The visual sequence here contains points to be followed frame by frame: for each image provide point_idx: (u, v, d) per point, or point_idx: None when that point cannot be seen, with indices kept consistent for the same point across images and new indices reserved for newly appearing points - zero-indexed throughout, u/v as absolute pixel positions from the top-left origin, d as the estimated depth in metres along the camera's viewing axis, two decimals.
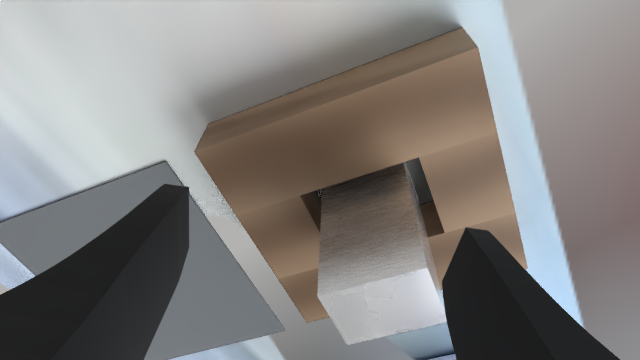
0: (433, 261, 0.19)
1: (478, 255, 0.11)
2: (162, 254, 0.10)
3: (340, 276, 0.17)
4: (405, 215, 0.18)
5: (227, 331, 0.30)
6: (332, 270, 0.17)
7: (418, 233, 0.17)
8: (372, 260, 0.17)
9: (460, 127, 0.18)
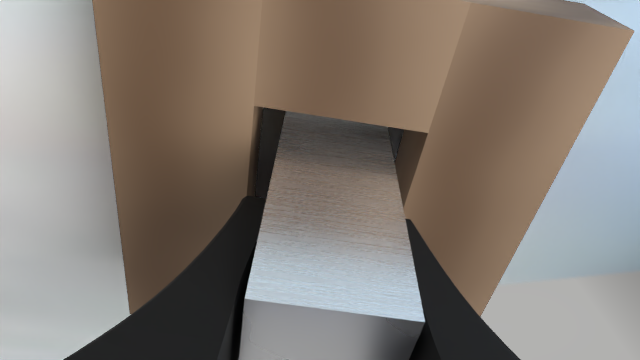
0: (396, 210, 0.10)
1: None
2: None
3: None
4: None
5: None
6: None
7: (260, 229, 0.09)
8: None
9: (227, 22, 0.10)
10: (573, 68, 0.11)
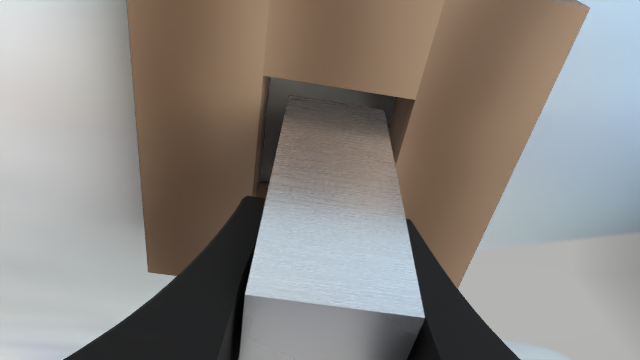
0: (396, 207, 0.10)
1: None
2: None
3: None
4: None
5: None
6: None
7: (260, 226, 0.09)
8: None
9: (241, 1, 0.12)
10: (539, 40, 0.12)
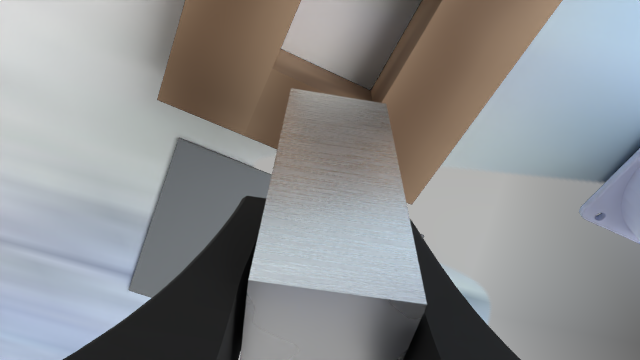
0: (398, 197, 0.10)
1: None
2: None
3: None
4: None
5: None
6: None
7: (263, 214, 0.09)
8: None
9: None
10: None
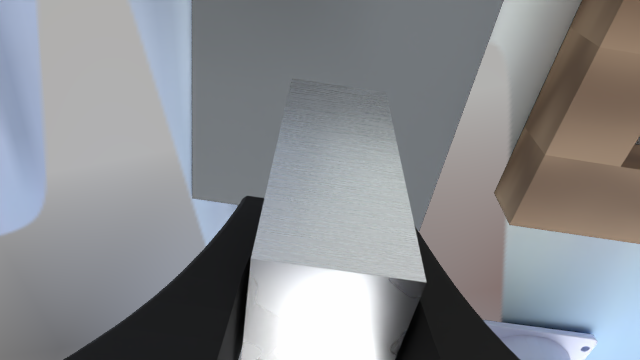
0: (398, 182, 0.10)
1: None
2: None
3: None
4: None
5: None
6: None
7: (265, 197, 0.09)
8: None
9: None
10: None
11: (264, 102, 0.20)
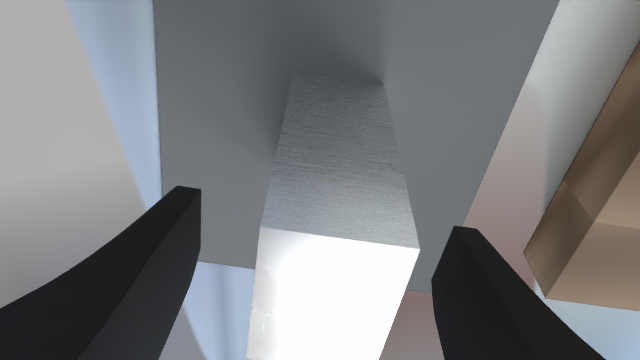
0: (395, 163, 0.11)
1: (465, 253, 0.11)
2: (176, 256, 0.10)
3: None
4: None
5: None
6: None
7: (271, 175, 0.10)
8: None
9: None
10: None
11: (248, 150, 0.17)
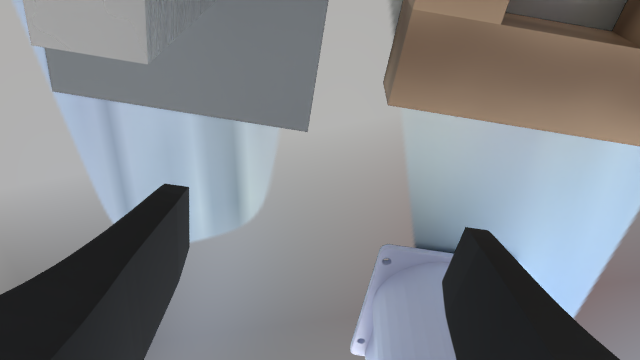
0: None
1: (478, 255, 0.11)
2: (162, 254, 0.10)
3: None
4: None
5: (233, 95, 0.21)
6: None
7: None
8: None
9: None
10: None
11: None
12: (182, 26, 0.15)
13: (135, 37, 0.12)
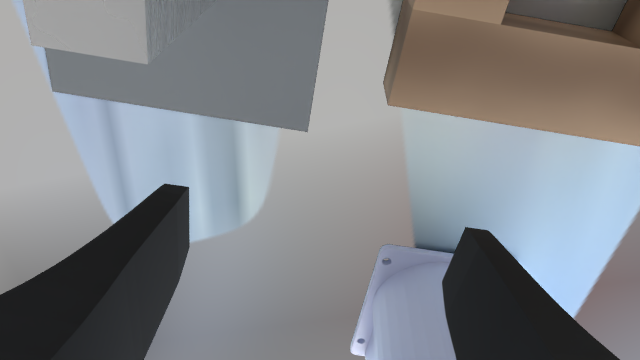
0: None
1: (478, 255, 0.11)
2: (162, 254, 0.10)
3: None
4: None
5: (233, 95, 0.21)
6: None
7: None
8: None
9: None
10: None
11: None
12: (182, 26, 0.15)
13: (135, 37, 0.12)
